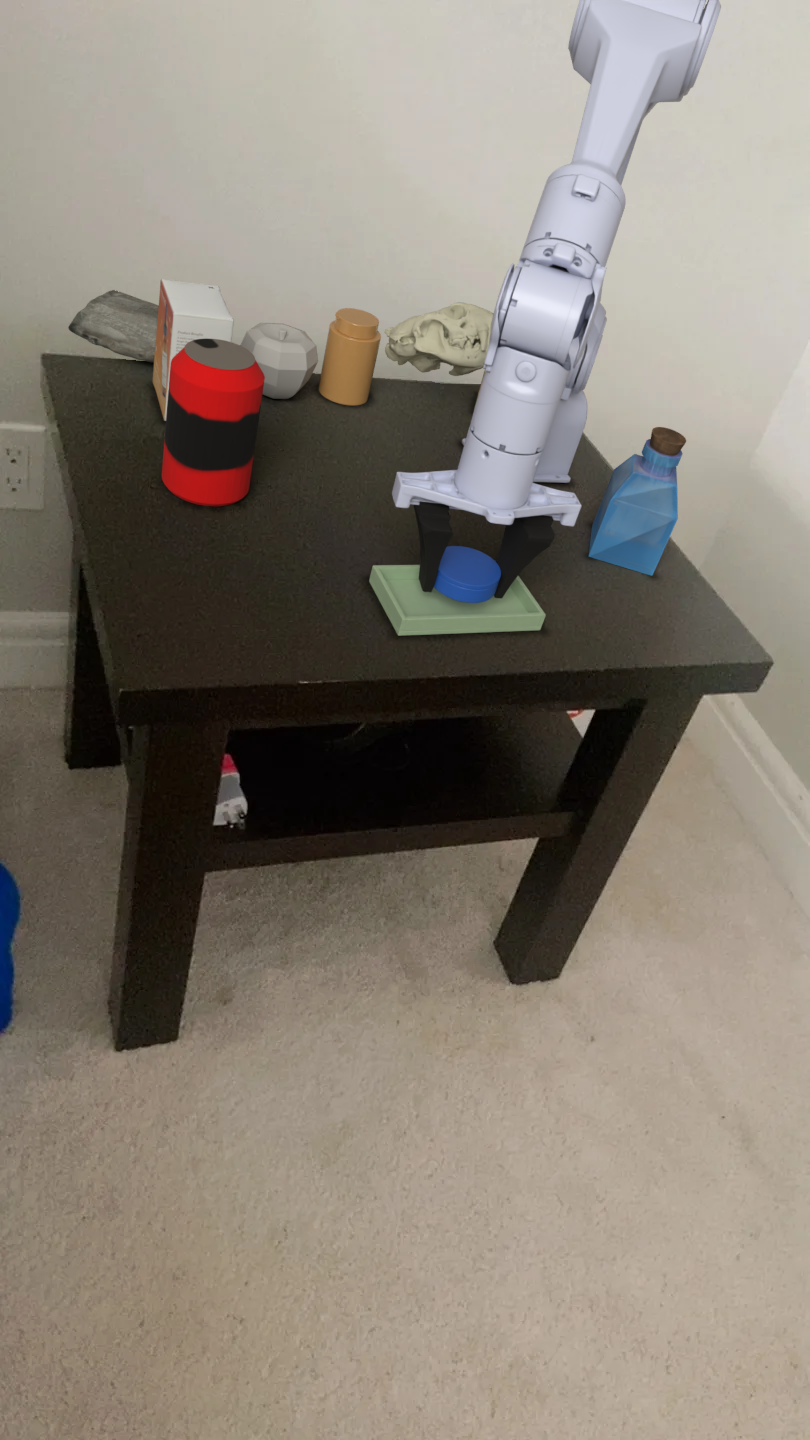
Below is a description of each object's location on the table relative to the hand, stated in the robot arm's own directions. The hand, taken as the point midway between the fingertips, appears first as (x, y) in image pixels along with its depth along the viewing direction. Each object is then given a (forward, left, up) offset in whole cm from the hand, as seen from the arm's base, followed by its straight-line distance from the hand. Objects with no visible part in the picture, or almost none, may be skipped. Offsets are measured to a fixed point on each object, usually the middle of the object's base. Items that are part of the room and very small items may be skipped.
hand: (460, 588), depth 85 cm
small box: (+16, -33, -2) cm, 37 cm away
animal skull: (-14, -39, 0) cm, 41 cm away
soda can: (+17, -18, -2) cm, 25 cm away
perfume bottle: (-21, -8, -2) cm, 23 cm away
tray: (0, 0, -2) cm, 2 cm away
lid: (0, 0, +2) cm, 2 cm away
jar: (-2, -38, -2) cm, 38 cm away
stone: (+11, -40, +1) cm, 42 cm away
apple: (+6, -37, -2) cm, 38 cm away
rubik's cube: (-20, -36, -2) cm, 41 cm away
